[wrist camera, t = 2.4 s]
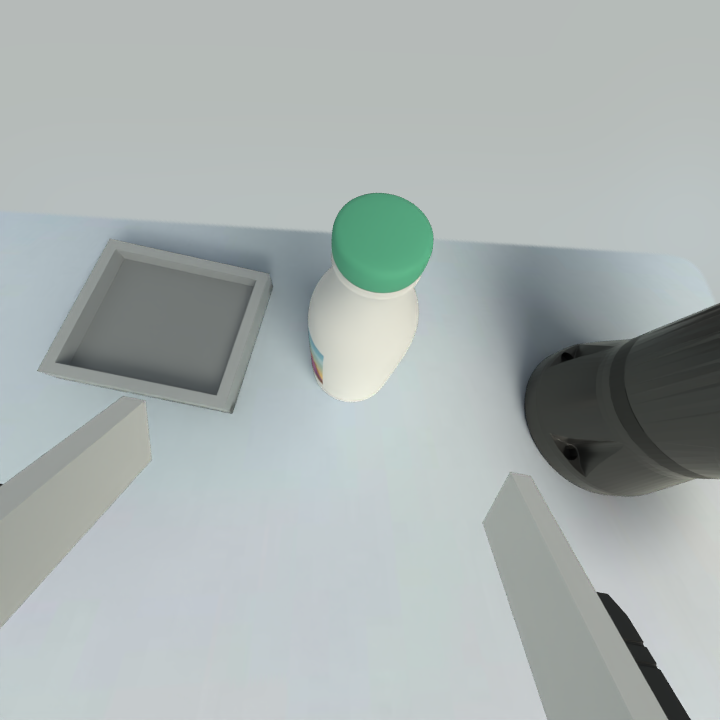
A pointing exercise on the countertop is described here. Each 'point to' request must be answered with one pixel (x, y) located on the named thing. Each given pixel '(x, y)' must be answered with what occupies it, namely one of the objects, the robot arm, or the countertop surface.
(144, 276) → the tray
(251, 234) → the countertop surface
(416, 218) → the milk bottle
